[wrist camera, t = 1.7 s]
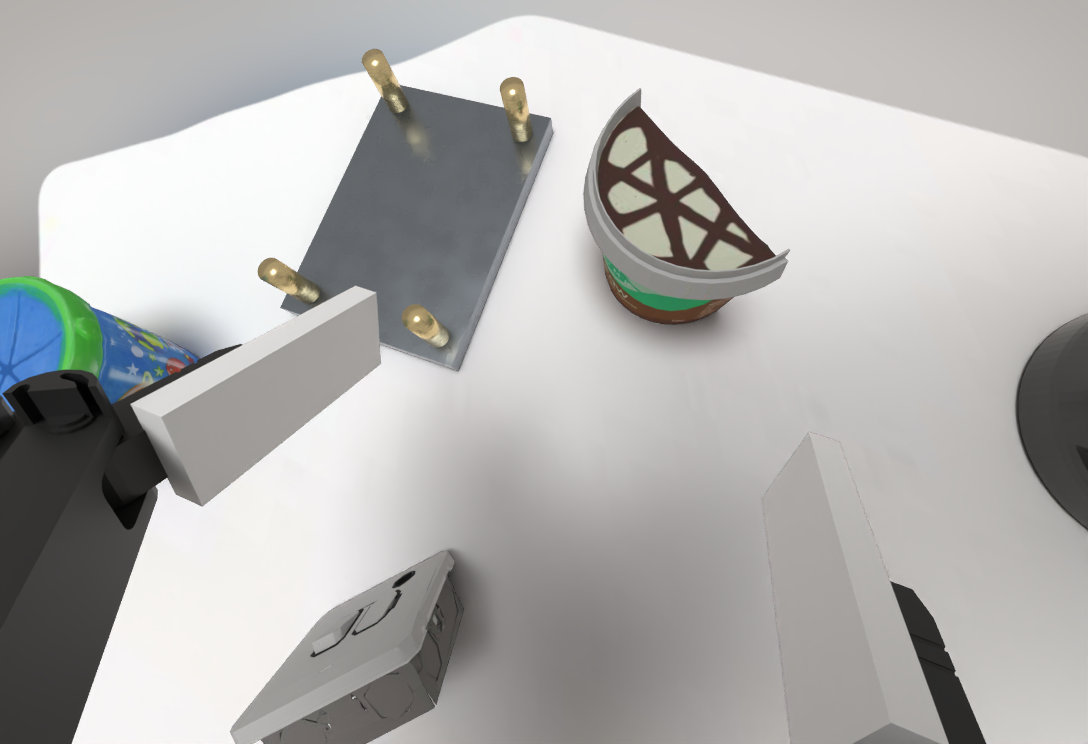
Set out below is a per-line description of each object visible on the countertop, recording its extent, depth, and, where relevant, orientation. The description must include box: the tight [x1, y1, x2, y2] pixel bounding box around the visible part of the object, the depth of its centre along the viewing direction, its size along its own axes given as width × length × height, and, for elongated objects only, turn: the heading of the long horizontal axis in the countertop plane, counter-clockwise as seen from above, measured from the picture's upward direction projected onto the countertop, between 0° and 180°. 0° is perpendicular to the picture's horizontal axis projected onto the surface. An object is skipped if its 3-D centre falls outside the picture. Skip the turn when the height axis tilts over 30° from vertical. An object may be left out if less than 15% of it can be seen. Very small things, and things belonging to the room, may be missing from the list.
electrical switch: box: [230, 551, 464, 744], centre depth 23 cm, size 9×5×9 cm, turn 117°
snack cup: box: [0, 276, 198, 411], centre depth 28 cm, size 16×10×10 cm
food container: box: [583, 88, 790, 324], centre depth 26 cm, size 12×6×10 cm, turn 34°
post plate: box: [258, 49, 553, 371], centre depth 31 cm, size 14×20×6 cm
